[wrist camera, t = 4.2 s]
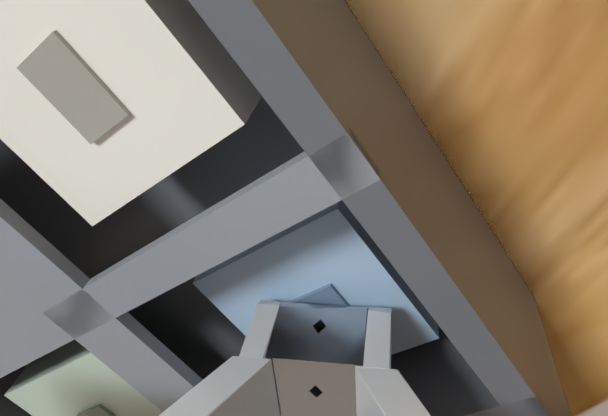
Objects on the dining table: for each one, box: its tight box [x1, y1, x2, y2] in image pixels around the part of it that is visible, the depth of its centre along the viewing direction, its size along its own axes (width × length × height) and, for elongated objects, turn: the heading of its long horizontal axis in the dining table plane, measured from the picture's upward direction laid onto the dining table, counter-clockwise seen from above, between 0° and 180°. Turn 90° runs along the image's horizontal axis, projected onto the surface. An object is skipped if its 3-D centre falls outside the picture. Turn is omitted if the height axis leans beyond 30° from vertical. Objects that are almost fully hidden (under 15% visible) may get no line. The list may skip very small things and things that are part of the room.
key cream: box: [0, 0, 262, 226], centre depth 9 cm, size 4×4×2 cm
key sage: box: [4, 317, 203, 416], centre depth 14 cm, size 4×4×2 cm
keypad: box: [0, 0, 572, 416], centre depth 11 cm, size 14×24×5 cm, turn 36°
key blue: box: [193, 200, 439, 355], centre depth 12 cm, size 4×4×2 cm
